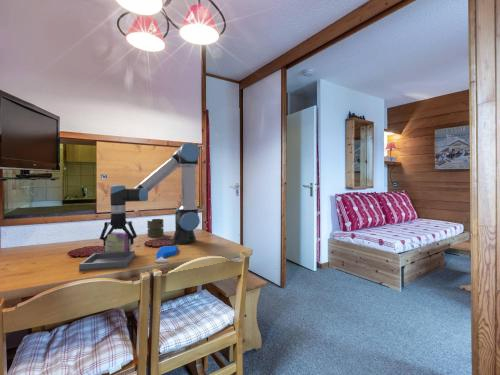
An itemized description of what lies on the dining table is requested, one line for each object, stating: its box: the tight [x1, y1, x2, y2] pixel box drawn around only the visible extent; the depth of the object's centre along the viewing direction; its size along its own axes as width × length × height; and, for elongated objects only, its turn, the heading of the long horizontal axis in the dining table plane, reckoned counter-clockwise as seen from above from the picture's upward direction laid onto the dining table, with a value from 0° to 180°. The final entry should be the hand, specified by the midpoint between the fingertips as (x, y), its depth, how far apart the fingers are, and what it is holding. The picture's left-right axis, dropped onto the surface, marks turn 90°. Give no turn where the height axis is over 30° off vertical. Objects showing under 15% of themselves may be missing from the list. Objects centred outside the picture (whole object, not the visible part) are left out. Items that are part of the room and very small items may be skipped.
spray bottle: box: [154, 245, 179, 264], centre depth 139 cm, size 3×11×24 cm
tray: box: [78, 250, 136, 272], centre depth 127 cm, size 20×18×3 cm
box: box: [106, 231, 130, 253], centre depth 143 cm, size 10×6×12 cm, turn 84°
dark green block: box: [146, 218, 165, 239], centre depth 190 cm, size 11×12×11 cm
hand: (118, 250), depth 143 cm, fingers closed on box, 11 cm apart
